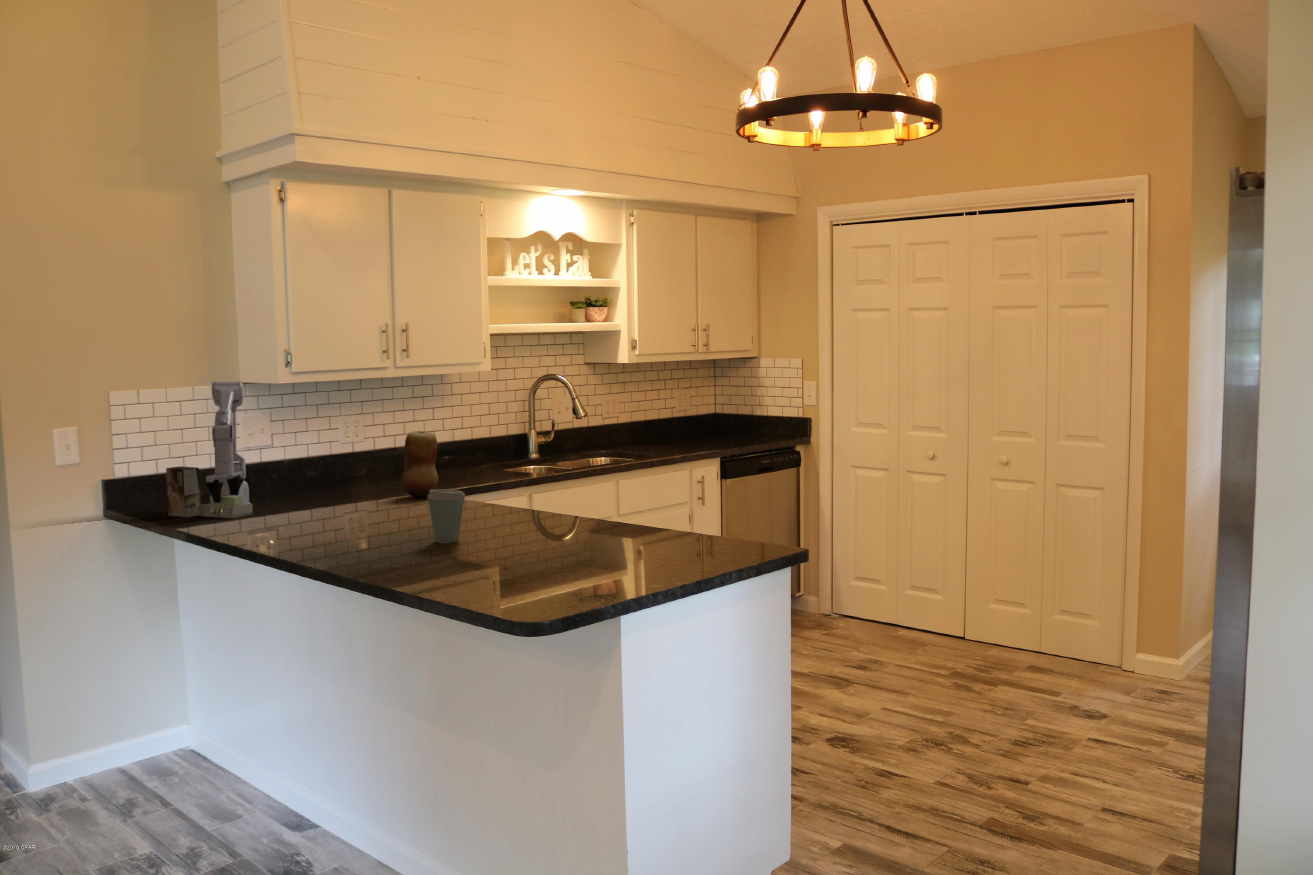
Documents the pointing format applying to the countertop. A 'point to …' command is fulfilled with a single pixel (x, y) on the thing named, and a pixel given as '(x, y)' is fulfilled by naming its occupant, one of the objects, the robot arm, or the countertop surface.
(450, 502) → the disposable coffee cup
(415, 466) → the butternut squash
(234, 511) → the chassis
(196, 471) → the coffee box
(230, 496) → the board
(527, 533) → the countertop surface
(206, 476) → the robot arm
